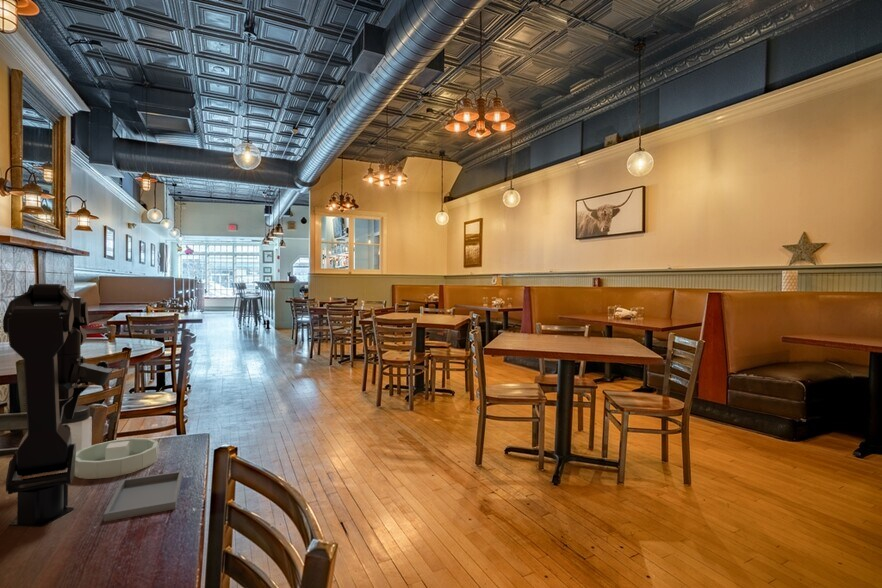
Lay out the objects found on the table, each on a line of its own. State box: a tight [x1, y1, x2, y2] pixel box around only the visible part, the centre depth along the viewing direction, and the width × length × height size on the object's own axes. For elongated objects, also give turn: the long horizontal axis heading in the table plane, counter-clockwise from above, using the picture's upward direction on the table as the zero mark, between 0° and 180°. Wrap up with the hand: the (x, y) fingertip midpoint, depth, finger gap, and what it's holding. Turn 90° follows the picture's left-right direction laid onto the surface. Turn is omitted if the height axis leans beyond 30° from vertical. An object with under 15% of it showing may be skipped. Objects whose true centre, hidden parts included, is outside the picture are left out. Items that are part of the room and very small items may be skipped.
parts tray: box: [103, 470, 184, 523], centre depth 87 cm, size 16×11×2 cm
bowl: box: [74, 437, 159, 480], centre depth 104 cm, size 16×16×4 cm
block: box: [105, 441, 130, 460], centre depth 104 cm, size 4×4×5 cm
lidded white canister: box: [61, 405, 93, 452], centre depth 108 cm, size 9×8×12 cm
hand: (62, 424), depth 96 cm, fingers open, 9 cm apart
